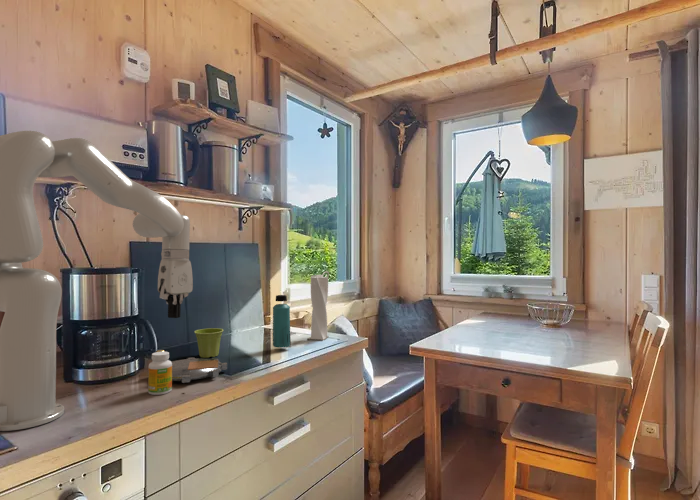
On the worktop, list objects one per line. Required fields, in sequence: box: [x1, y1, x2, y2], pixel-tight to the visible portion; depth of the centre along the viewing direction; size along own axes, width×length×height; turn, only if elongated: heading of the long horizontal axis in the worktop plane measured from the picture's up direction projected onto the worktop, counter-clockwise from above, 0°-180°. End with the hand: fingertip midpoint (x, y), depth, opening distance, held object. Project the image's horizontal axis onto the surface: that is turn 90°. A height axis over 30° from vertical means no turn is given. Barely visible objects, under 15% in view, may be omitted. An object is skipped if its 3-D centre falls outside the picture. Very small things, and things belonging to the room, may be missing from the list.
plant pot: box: [194, 327, 224, 359], centre depth 140 cm, size 9×9×9 cm
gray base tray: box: [147, 349, 228, 384], centre depth 117 cm, size 21×21×6 cm
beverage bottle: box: [271, 294, 291, 349], centre depth 149 cm, size 6×7×20 cm
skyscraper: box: [307, 270, 330, 341], centre depth 169 cm, size 8×8×28 cm
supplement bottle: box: [147, 351, 173, 396], centre depth 103 cm, size 5×5×10 cm
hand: (174, 317), depth 121 cm, fingers closed
